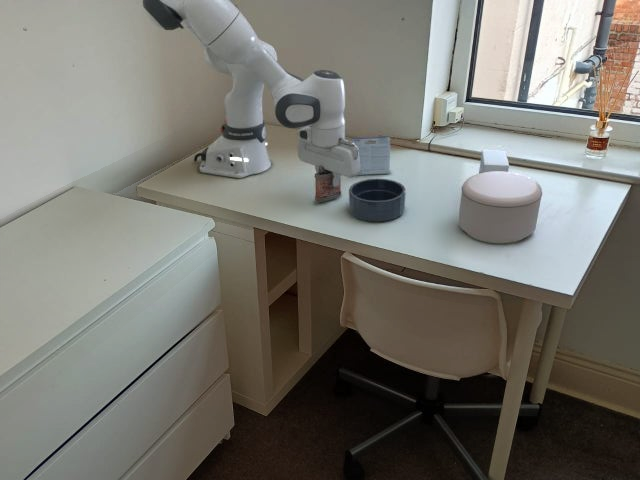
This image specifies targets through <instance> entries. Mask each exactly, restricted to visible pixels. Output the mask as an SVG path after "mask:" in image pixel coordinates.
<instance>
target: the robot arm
mask: <svg viewBox="0 0 640 480" xmlns="http://www.w3.org/2000/svg"><path fill="white" fill-rule="evenodd" d="M142 7H143V8H144V12H145V15H146V16H147V18H148V19H149V21H150V22H151V23H152V24H154V26H157V27H158V28H160V29H163V30H165V31H175V30H177V29H181V30H182V29H183V30H184V29H185V27H186V28H187V29H188V31H189V32H190V33H191V34H192V35H193V36H194V37H195V38H196V40H197V41H198V42H199V43H200V45H201V46H202V48H203V57H204V61H205V63H206V65H207V66H209V67H210V68H212V69H213V70H215V71H217V72H218V73H220V74H224V75H229V76H232V78H233V79H232V80H233V83H232V89H231V90H230V91H229V92H228V93H227V94H226V95H225V97H224V108H225V109H224V110H225V120H224V121H223V123H222V124H221V127H220V128H219V133H221V135H220V136H219V137H217V139H216V140H214V141H213V142H212V143H211V144H210V145H209V146H207V147H205V148H204V150H203V151H201V152H198V153H196V154H195V155H194V158H193V162H197V161H198V158H200V160H201V163H200V164H199V172H200V173H204V174H209V175H216V176H221V177H228V178H235V179H242V178H245V177H248V176H252V175H257V174H260V173H264V172H265V171H267V170H269V169H270V168H271V166H272V162H271V159H270V157H269V152H268V149H267V146H268V142H266V137H267V132H266V123H265V120H264V115H263V112H264V111H263V93H264V88H265V87H266V88H267V89H268V90H269V93H270V94H271V95H270V96H271V98H272V101H273V105H274V114H275V118H276V120H277V122H279V124H280V125H281V126H283V127H285V128H287V129H297V128H300V129H298V130H297V131H296V133H297V137H298V139H297V143H296V144H297V146H296V147H297V148H296V149H297V157H298V158H299V161H301V162H304V163H306V164H309V165H312V166H314V169H315V173H317V172H319V166H323V167H324V169H326V170H329V171H331V172H333V175H334V178H333V179H331V180H330V182H331V184H330V185H331V186H334V187H336V186H338V185H339V179H340V177H342V176H343V177H346V178H349V179H351V178H354V177H356V176H359V175H358V174H359V173H360V157H359V152H358V147H357V146H356V145H355V144H354V142H352V141H351V140H347V139H346V120H345V115H344V113H345V109H346V87H345V82H344V79H343V78H342V76H341V75H340V74H339V73H337V72H335V71H332V70H328V69H327V70H326V69H320V70H315V71H313V72H312V74H310V75H309V76H308V77H307V78H306V79H303V78H301V77H300V76H298V75H296V74H293V73H291V72H289V71H287V70H286V69H284V68H283V66H282V65H281V64H280V63H279V62H278V55H277V51H276V50H275V48H274V46H273V45H271V44H269V43H268V42H266V41H263V40H261V39H259V37H258V35H257V33H256V32H255V30H254V28H253V27H252V26H251V24H250V23H249V21H248V20H247V18H246V17H245V16H244V15H243V13H242V12H241V11H240V10H239V9H238V8H237V7H236V6H235V5H234V3H232V2H231V0H142ZM182 24H183V25H184V26H185V27H184V26H183V25H182Z"/></svg>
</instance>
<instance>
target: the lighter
mask: <svg viewBox="0 0 640 480" xmlns="http://www.w3.org/2000/svg"><path fill="white" fill-rule="evenodd" d="M341 177H342V176H341ZM341 177H340V179H339V185H338V186H336V187H334V186H331V185H330V184H331V182H330V180H331V179H333V178H334V175H333V172H331V171H329V170H326V169H324V167H323V166H319V172H315V173H314V178H315V181H314V182H315V196H314V200H315V202H319V203H322V202H327V201H330V200H333V199H336V198H338V197H340V196H342V190H341V189H342V188H341V187H342V185H341V182H342V180H341V179H342V178H341Z"/></svg>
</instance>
